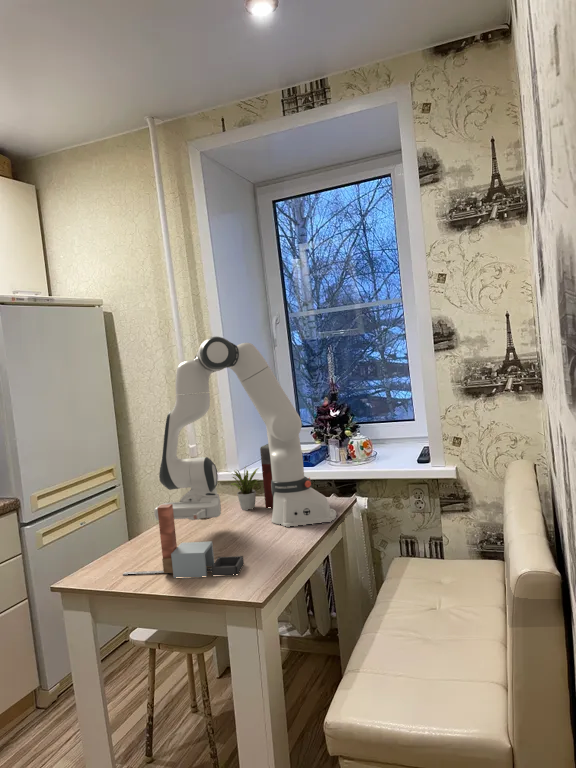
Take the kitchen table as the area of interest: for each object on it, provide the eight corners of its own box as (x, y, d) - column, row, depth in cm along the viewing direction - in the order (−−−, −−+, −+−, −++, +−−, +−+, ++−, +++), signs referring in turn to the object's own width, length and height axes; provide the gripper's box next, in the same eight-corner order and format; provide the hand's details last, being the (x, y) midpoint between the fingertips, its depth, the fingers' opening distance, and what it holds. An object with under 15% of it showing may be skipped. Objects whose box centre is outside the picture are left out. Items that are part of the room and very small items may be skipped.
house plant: (223, 515, 219) (218, 471, 218) (228, 505, 232) (224, 463, 231) (261, 512, 218) (257, 468, 217) (265, 502, 232) (261, 461, 231)
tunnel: (214, 564, 169) (212, 541, 168) (206, 577, 160) (203, 552, 160) (183, 566, 170) (181, 542, 170) (173, 578, 161) (171, 554, 161)
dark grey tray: (243, 564, 167) (243, 556, 167) (237, 575, 159) (236, 566, 159) (219, 565, 168) (218, 557, 168) (212, 576, 160) (211, 567, 160)
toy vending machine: (299, 501, 229) (292, 428, 228) (287, 509, 219) (280, 433, 217) (278, 500, 233) (271, 429, 231) (265, 508, 223) (258, 434, 221)
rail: (214, 569, 165) (214, 568, 165) (213, 571, 164) (213, 570, 164) (124, 573, 169) (124, 572, 168) (122, 575, 167) (122, 574, 167)
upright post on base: (203, 565, 167) (197, 502, 166) (199, 571, 162) (192, 506, 161) (168, 566, 168) (162, 504, 167) (163, 573, 164) (156, 508, 163)
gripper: (161, 496, 192) (145, 508, 178) (223, 493, 189) (212, 505, 176) (163, 516, 192) (147, 529, 179) (225, 513, 190) (214, 526, 176)
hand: (180, 517), depth 177 cm, fingers open, 8 cm apart
